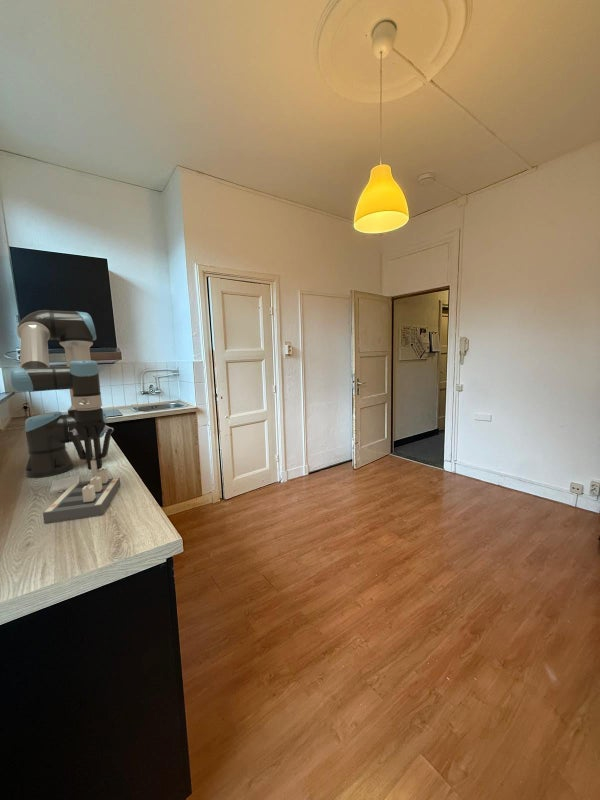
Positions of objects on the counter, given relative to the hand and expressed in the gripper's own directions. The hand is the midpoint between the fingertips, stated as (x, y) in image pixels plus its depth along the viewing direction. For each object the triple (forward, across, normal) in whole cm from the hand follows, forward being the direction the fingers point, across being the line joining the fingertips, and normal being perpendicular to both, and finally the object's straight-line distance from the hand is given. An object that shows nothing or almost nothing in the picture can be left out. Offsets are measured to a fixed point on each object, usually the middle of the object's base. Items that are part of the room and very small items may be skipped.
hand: (96, 478), depth 105 cm
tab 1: (+2, +2, -14) cm, 14 cm away
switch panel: (+5, -1, -7) cm, 9 cm away
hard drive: (+6, -13, +11) cm, 18 cm away
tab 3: (+2, +2, 0) cm, 3 cm away
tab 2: (+2, +2, -7) cm, 8 cm away
